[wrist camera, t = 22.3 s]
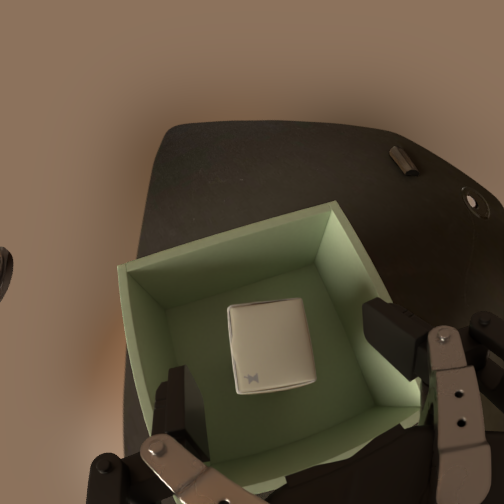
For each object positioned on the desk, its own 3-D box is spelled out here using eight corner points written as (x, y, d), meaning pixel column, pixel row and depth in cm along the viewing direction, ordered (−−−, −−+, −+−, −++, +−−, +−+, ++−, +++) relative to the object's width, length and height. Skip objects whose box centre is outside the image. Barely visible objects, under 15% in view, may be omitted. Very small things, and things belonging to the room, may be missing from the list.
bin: (206, 470, 19) (177, 506, 10) (159, 307, 27) (116, 265, 18) (380, 408, 21) (436, 409, 12) (316, 258, 29) (335, 200, 21)
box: (294, 389, 22) (319, 387, 12) (246, 395, 22) (234, 399, 12) (286, 335, 24) (303, 293, 15) (240, 340, 24) (225, 303, 15)
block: (402, 178, 35) (406, 170, 34) (385, 152, 38) (388, 144, 36) (419, 177, 35) (424, 170, 34) (402, 152, 38) (405, 144, 37)
